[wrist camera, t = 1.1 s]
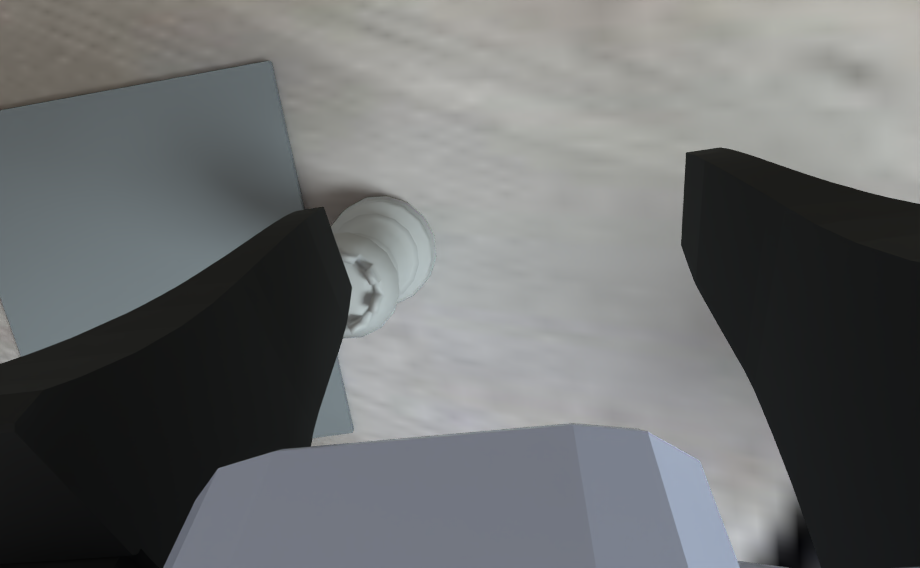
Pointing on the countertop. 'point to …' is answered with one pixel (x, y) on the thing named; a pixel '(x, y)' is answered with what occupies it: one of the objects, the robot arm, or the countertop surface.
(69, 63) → the countertop surface
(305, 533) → the robot arm
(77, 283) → the mat
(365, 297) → the rook chess piece
